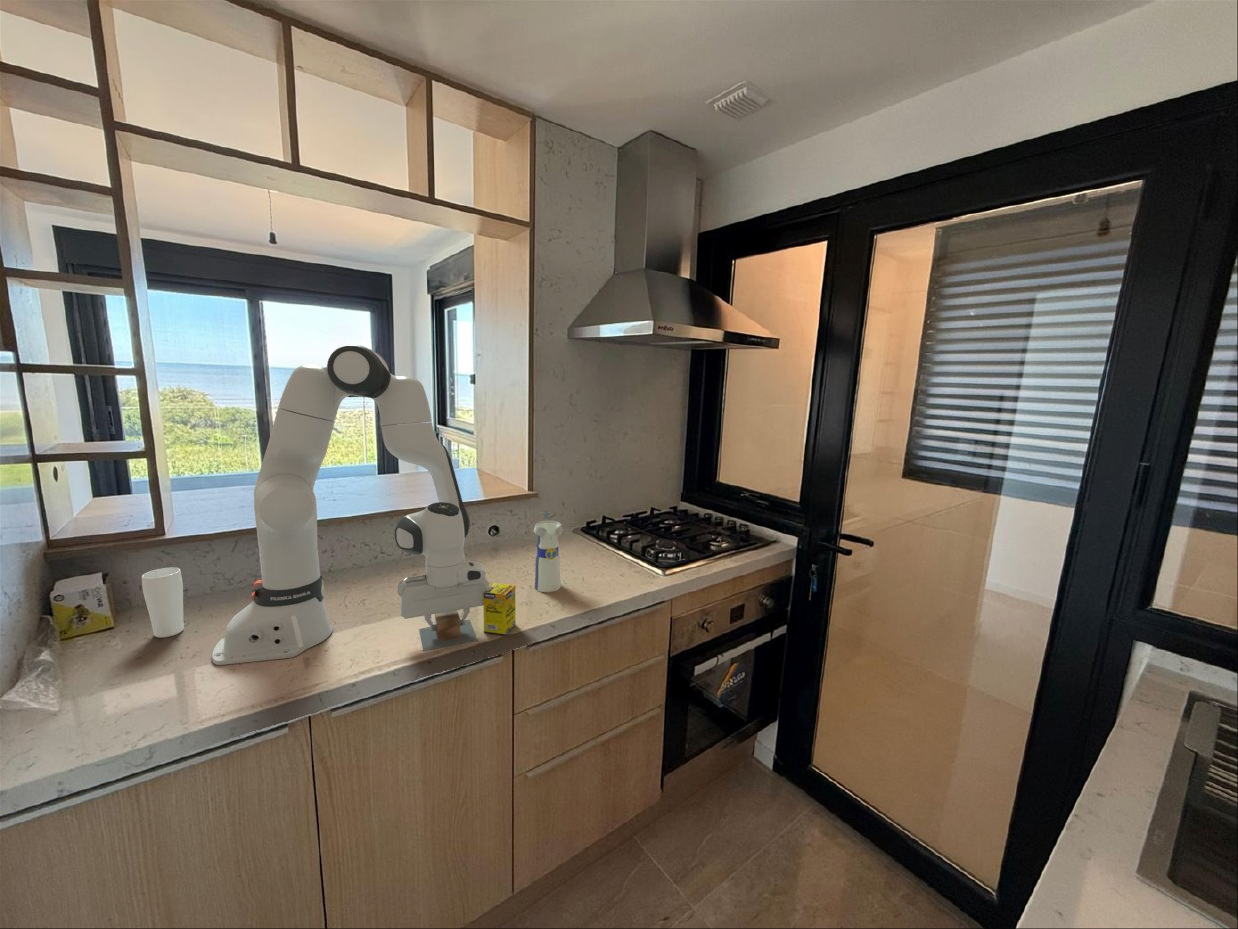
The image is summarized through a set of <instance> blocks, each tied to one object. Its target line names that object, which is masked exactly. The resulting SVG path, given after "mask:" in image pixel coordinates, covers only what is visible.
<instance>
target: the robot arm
mask: <svg viewBox="0 0 1238 929" xmlns="http://www.w3.org/2000/svg"><path fill="white" fill-rule="evenodd" d="M326 363H327V364H326V366H321V365H319V364H318V365H316V364H303V365H300V366H298V367H296V368H295V369H294V370H293V371H292V373H291V375H290V377H289V379H288V380H287V383H286V385H285V386H284V389H283V392H282V394H281V397H280V400H279V403H278V406H277V410H276V413H275V418H274V421H273V426H272V429H271V431H270V436H269V440H268V443H267V446H266V450H265V452H264V456H263V459H262V462H261V466H260V470H259V473H258V476H257V479H256V482H255V486H254V490H253V508H254V518H255V526H256V535H257V543H258V554H259V563H260V573H261V579H258V580H256V581H255V582H254V583H253V586H252V590H251V599H252V602H250V603H249V604H248V605H247V606H245V607H244V608H243V609H242V610H241V611H239V612H238V613H236V614H235V615H234V616H233V617H232V618H231V620H229V622H228V624H227V626H226V628H225V632H224V637H222V638H221V639H220V640H219V641H218V642H217V644H216V645H215V646H214V648H213V651H212V654H211V661H212V662H213V664H215V665H217V666H221V665H232V664H240V663H241V664H242V663H252V662H261V661H270V660H280V659H289V658H293V657H294V658H295V657H296V656H298V655H300V654H301V653H303V652H304V651H306V650H308V649H310V648H312V647H314V646H316V645H318V644H321V643H322V642H324V641H325V640H326V639H328V638H329V637H330V636H331V634H332V632H333V627H332V625H331V623H330V621H329V617H328V615H327V612H326V607H325V603H324V598H325V587H324V586H325V585H324V580H323V575H322V574H321V572H320V571H321V570H320V558H319V549H318V548H319V547H318V545H319V544H318V513H317V512H318V510H317V498H316V495H315V493H314V487H315V483H316V481H317V477H318V475H319V472H320V469H321V467H322V463H323V461H324V459H325V457H326V456H327V452H328V448H329V445H330V442H331V441H330V440H331V439H332V438H331V437H332V434H333V433H332V432H333V430H334V426H335V422H336V418H337V415H338V412H339V411H338V410H339V408H340V405H341V403H342V401H343V400H344V399H346V398H368V399H372V401H374V402H375V403H376V406H377V408H378V411H379V416H380V418H379V419H380V427H381V434H382V441H383V444H384V446H385V448H386V449H387V451H388V452H389V453H390V454H391V455H392V456H394V457H395V458H397V459H398V460H401V461H402V462H405V463H408V464H409V463H410V464H412V465H417V466H419V467H422V468H424V469H425V470H427V471H428V472H429V474H430V476H431V477H432V478H431V479H432V481H433V485H434V488H435V489H434V490H435V492H436V495H437V500H438V502H433V503H430V504H429V505H427V506H426V507H425V508H424V509H423V510H420V511H417V512H413V513H409V514H407V515H404V516H402V517H401V518H400V519H399V520H398V521H397V523H396V524H395V529H394V540H395V544H396V546H397V547H398V548H399V549H400V550H402V552H405V553H407V554H408V555H414V556H415V555H416V556H417V555H423V556H424V557H425V560H424V562H425V563H424V565H425V566H424V568H425V574H423V575H418V576H417V575H416V576H413V577H411V576H409V577H405V578H404V579H403V580H401V581H400V582H399V583H398V585H397V594H398V596H399V597H400V607H399V608H400V609H399V610H400V616H401V617H402V618H403V619H404V620H407V619H414V618H418V617H424V620H425V622H427V624H428V625H429V627H430V632H431V631H436V630H437V623H436V621H435V620H432V615H435V614H437V613H443V612H449V611H454V610H457V611H460V610H462V613H461V616H460V615H459V617H460V626H463V625H465V620H467V617H468V616H469V614H470V610H471V609H472V608H476V607H481V606H482V607H484V603H483V592H484V591H489V590H490V586H491V585H490V582H489V581H488V578H487V577H486V570H485V568H484V565H483V564H482V563H481V562H479V561H475V560H469V559H466V555H465V553H464V546H465V541H466V540H465V539H466V538H467V537H468V534H469V532H470V529H471V518H470V516H469V513H468V511H467V509H466V507H465V505H464V502H463V498H462V495H461V492H460V487H459V484H458V480H457V476H456V473H455V468H454V465H453V462H452V459H451V456H450V453H449V451H448V449H447V447H446V446H445V445H444V444H443V443H441V442H440V441H439V439H438V437H437V436H436V434H435V430H434V427H433V422H432V413H431V409H430V404H429V400H428V397H427V394H426V391H425V387H424V385H423V383H422V382H421V381H419V379H416V378H414V377H411V376H408V375H407V376H406V375H394V374H392V372H391V369H390V368H391V367H390V366H389V364H388V362H387V361H385V359H384V358H383V356H381V355H380V354H379V353H377V351H375V350H373V349H370V348H369V347H367V346H366V347H365V346H363V345H360V344H345V345H342V346H339V347H338V348H336V349H335V350H334V351H333V352H331V354H330V355H329V357H328V360H327V362H326Z"/></svg>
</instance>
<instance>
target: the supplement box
mask: <svg viewBox="0 0 1238 929" xmlns="http://www.w3.org/2000/svg"><path fill="white" fill-rule="evenodd" d="M489 586H490V590H489V591H484V592H483V603H484V605H483V634H488V635H495V636H503V637H507V635H508V634H509V633H510V632H511V630H513V628H514V627H515V626H516V585H515V584H508V583H499V582H493V583H492V585H489Z"/></svg>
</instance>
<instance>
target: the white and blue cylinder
mask: <svg viewBox="0 0 1238 929" xmlns="http://www.w3.org/2000/svg"><path fill="white" fill-rule="evenodd" d="M539 514H540V515H542V520H541V521H538V522H537V523H535V525H534V528H533V533H534V534H535V535H537V540H536V542H535V546H536V556H535V568H534V569H535V573H534V574H535V578H534V590H536V591H537V592H540V593H541V592H542V593H553V592H556V591H558V590H560V589H561V558H560V554H559V547H560V544H561V543H560V541H559V539H558V538H559V537H560V536H562V534H563V532H564V530H563V526H562V523H561V522H559V521H556V520H550V516H551V515H552V512H548V510H547V509H545V510H544V511H543V512H540V513H539Z"/></svg>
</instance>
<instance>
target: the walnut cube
mask: <svg viewBox="0 0 1238 929" xmlns="http://www.w3.org/2000/svg"><path fill="white" fill-rule="evenodd" d="M459 616H460V615H459V610H454V611H449V612H443V613H437V614H434V619H435V620H434V621H436V623H437V630H436V635H437V639H438V642H439V641H444V640H449V639H454V638H459V637H460V617H459Z"/></svg>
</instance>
